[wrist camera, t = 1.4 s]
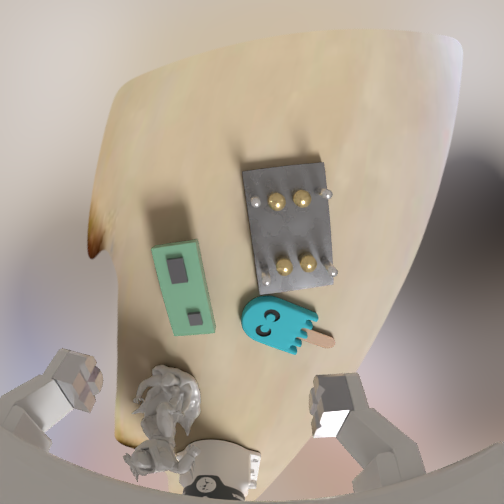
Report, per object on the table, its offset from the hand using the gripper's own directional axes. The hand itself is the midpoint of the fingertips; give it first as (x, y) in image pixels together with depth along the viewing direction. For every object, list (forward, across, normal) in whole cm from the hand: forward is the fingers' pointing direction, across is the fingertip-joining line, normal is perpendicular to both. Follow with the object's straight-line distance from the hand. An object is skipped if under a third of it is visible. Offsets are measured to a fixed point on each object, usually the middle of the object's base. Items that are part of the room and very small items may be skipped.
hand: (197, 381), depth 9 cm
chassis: (+28, +6, -5) cm, 29 cm away
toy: (+26, +8, -19) cm, 33 cm away
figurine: (+23, -12, -34) cm, 43 cm away
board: (+23, -7, -12) cm, 27 cm away
